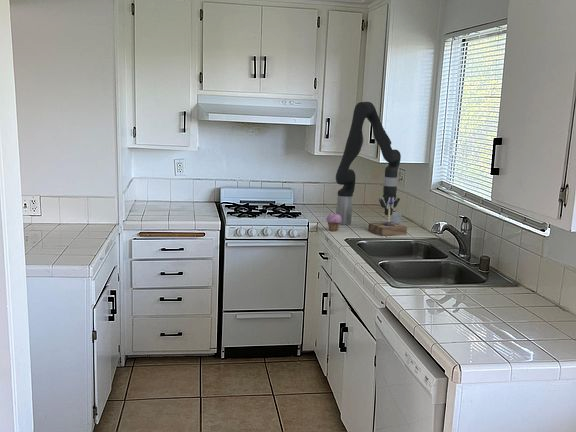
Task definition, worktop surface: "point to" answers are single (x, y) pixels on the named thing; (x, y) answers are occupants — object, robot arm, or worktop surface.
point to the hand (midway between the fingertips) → (388, 214)
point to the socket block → (387, 229)
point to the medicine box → (396, 217)
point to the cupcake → (334, 221)
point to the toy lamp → (389, 213)
